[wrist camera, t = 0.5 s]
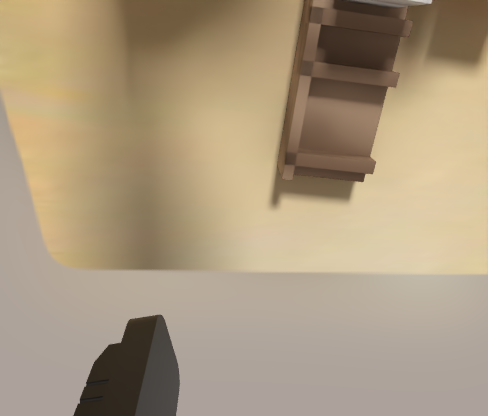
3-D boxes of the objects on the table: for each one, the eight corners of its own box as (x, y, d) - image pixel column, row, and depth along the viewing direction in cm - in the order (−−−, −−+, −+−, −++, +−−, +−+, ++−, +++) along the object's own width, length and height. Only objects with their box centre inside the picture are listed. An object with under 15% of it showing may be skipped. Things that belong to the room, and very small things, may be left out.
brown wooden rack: (324, -121, 28) (360, -175, 20) (424, -104, 28) (494, -150, 21) (277, 165, 35) (290, 201, 28) (356, 174, 36) (389, 211, 29)
